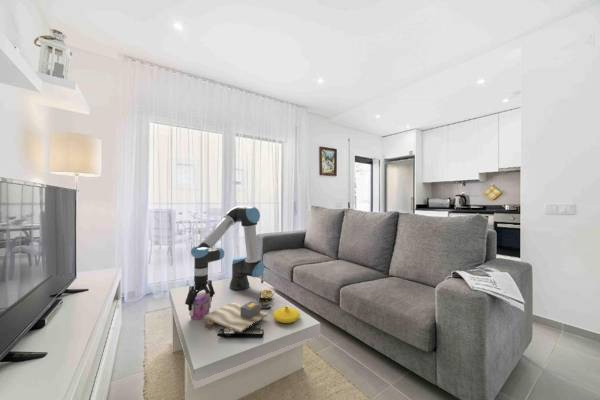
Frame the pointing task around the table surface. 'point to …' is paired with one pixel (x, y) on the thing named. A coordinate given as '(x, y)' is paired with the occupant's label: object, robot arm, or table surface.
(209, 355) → the table surface
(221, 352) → the table surface
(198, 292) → the robot arm
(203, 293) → the box
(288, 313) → the yellow pattypan squash
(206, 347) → the table surface
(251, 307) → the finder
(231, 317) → the beige cloth
